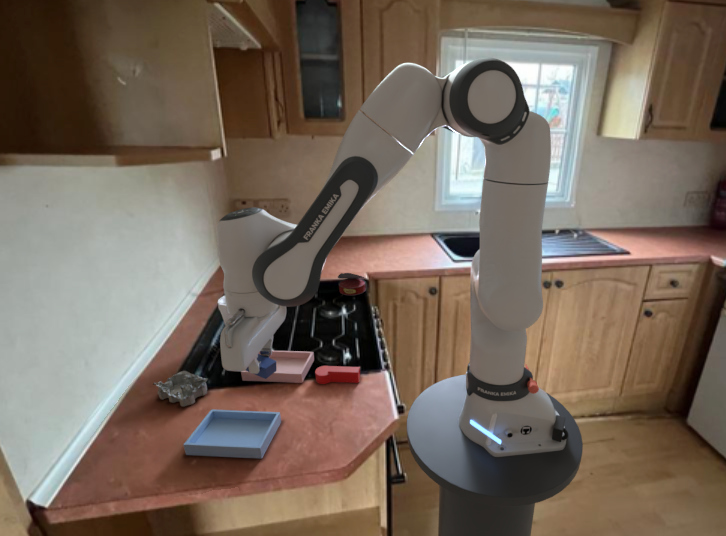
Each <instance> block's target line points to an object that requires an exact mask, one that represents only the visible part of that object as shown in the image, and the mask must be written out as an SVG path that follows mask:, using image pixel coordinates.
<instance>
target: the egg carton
mask: <svg viewBox="0 0 726 536" xmlns="http://www.w3.org/2000/svg"><path fill="white" fill-rule="evenodd" d="M208 380H209V378H207V377H206V378H205V377H202V376H199V374H198V375H197V374H194V373H190V372H189V371H187V370H182V371H179V372H177V373H176V374H172V376H171V377H167V379H166V381H165V382H164V383H163V382H162V380H161V381H158V382H153V383H152V385H155V386H156V387H158V390H157V395H158V398H159V399H160V400H164V399H165V400H166V399H168V400H169V403H172V404H175V403H177V402H179V405H180V407H183V408H184V407H187V406H190V405H193V404H194V403H196V399H197V398H198V397H201V396H205V395H207V394H208V385H207V381H208Z"/></svg>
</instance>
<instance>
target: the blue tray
mask: <svg viewBox="0 0 726 536" xmlns="http://www.w3.org/2000/svg"><path fill="white" fill-rule="evenodd" d="M281 415H282V414H281V412H280V411H259V410H257V411H255V410H235V409H234V410H233V409H213V408H212V409H210V410H209V412H207V414H206V415H205V417H204V418H203V419H202V421H200V423H199V424H198V425H197V427H196V428H195V429H194V431H193V432H192V433H191V435H189V437H188V438H187V439H186V441H184V443H183V448H184V453H185V455H186V456H197V457H198V456H199V457H221V458H239V459H240V458H241V459H242V458H243V459H261V460H262V459H263V458H264V455H265V454H266V452H267V450H268V448H269V446H270V444H271V442H272V441H273V438H274V437H275V435H276V433H277V431H278V430H279V427H280V425H281V424H282V416H281Z"/></svg>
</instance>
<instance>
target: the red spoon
mask: <svg viewBox="0 0 726 536" xmlns="http://www.w3.org/2000/svg"><path fill="white" fill-rule="evenodd" d="M314 375H315V382H317V383H318V384H321V385H326V384H329V383H351V384H352V383H353V384H356V383H357V384H359V383H360V380H361V366H341V365H338V366H337V365H321V366H319V367H317V368H316V369H315V370H314Z"/></svg>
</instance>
